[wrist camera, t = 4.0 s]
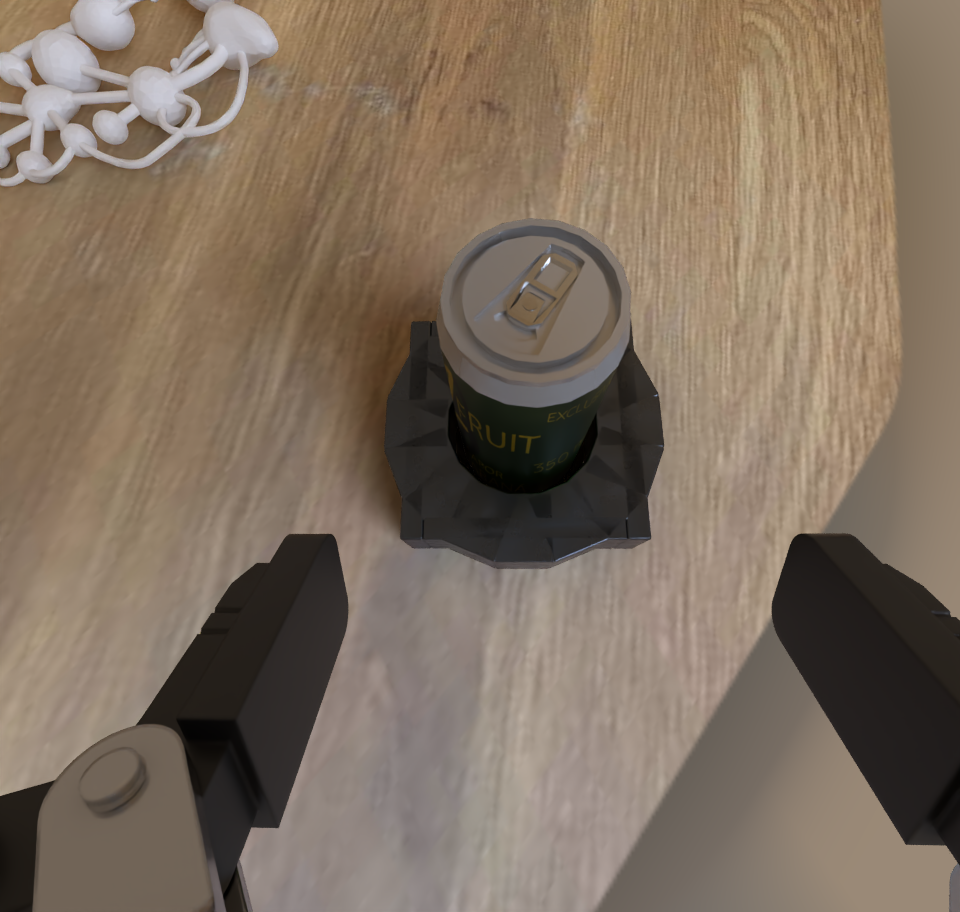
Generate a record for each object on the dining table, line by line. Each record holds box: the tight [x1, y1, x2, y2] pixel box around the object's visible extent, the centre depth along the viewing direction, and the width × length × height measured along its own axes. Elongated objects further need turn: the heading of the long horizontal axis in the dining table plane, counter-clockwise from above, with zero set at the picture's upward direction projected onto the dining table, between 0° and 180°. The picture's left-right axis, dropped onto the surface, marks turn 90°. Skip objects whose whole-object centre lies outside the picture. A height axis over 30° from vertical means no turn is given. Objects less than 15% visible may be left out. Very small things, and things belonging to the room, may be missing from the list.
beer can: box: [436, 218, 631, 493], centre depth 19 cm, size 5×5×12 cm
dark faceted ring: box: [384, 319, 664, 569], centre depth 23 cm, size 12×12×3 cm
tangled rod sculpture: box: [0, 0, 279, 187], centre depth 31 cm, size 19×14×4 cm
